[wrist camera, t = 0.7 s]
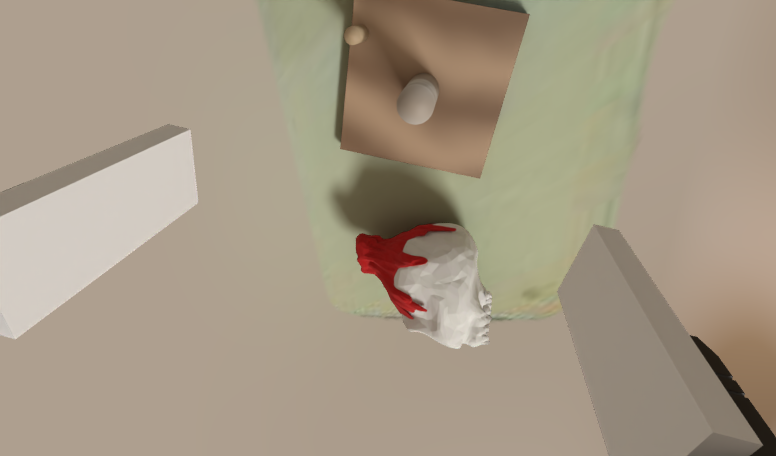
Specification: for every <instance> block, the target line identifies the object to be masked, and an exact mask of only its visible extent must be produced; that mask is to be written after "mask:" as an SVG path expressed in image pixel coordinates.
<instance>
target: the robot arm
mask: <svg viewBox="0 0 776 456" xmlns="http://www.w3.org/2000/svg"><path fill="white" fill-rule="evenodd" d="M197 203H198V197H197V187H196V177H195V168H194V159H193V150H192V141H191V132H190V129H187V128H183V127H179V126H174V125H170V124H167V125H165V126H162V127H160V128H158V129H155V130H153V131H150V132H148V133H145V134H143V135H140V136H138V137H136V138H133V139H131V140H128V141H126V142H123V143H121V144H118V145H116V146H114V147H111V148H109V149H106V150H104V151H101V152H99V153H96V154H94V155H92V156H89V157H87V158H84V159H82V160H79V161H77V162H74V163H72V164H69V165H67V166H65V167H62V168H60V169H57V170H55V171H52V172H50V173H47V174H45V175H43V176H40V177H38V178H35V179H33V180H30V181H28V182H25V183H22V184H20V185H17V186H15V187H12V188H10V189H8V190H5V191H3V192H1V193H0V335H2V336H5V337H9V338H13V339H16V338H18V337H19V336H20V335H22V334H23V333H24V332H25V331H27V330H28V329H30V328H31V327H32V326H34V325H35V324H36V323H38V322H39V321H40V320H42V319H43V318H44V317H46V316H47V315H48V314H50V313H51V312H52V311H54V310H55V309H56V308H58V307H59V306H60V305H62V304H63V303H64V302H66V301H67V300H68V299H70V298H71V297H72V296H74V295H75V294H76V293H78V292H79V291H80V290H82V289H83V288H85V287H86V286H87V285H89V284H90V283H91V282H93V281H94V280H95V279H97V278H98V277H99V276H100V275H102V274H103V273H104V272H106V271H107V270H109V269H110V268H111V267H113V266H114V265H115V264H117V263H118V262H119V261H121V260H122V259H123V258H125V257H126V256H127V255H129V254H130V253H131V252H133V251H134V250H135V249H137V248H138V247H139V246H141V245H142V244H143V243H145V242H146V241H147V240H149V239H150V238H151V237H153V236H154V235H155V234H157V233H158V232H159V231H161V230H162V229H164V228H165V227H166V226H167V225H169V224H170V223H171V222H173V221H174V220H176V219H177V218H178V217H179V216H181V215H182V214H184V213H185V212H186V211H188V210H189V209H190V208H192V207H193V206H194V205H196V204H197ZM557 292H558V296H559V299H560V302H561V305H562V308H563V311H564V315H565V318H566V321H567V324H568V327H569V331H570V334H571V336H572V340H573V343H574V346H575V350H576V352H577V356H578V359H579V362H580V365H581V369H582V372H583V375H584V378H585V381H586V385H587V388H588V391H589V394H590V397H591V400H592V403H593V407H594V410H595V413H596V416H597V419H598V423H599V426H600V429H601V432H602V435H603V439H604V442H605V445H606V448H607V451H608V454H609V456H776V437H775V435H774V434H773V433H772V431H771V430H770V428H769V427H768V426H767V424H766V423H765V421H764V420H763V419H762V417H761V416H760V414H759V413H758V412H757V410H756V409H755V407H754V406H753V405H752V403H751V402H750V400H749V399H748V398H745V397H744V395H745V393H744V392H743V390H742V389H741V388H740V386H739V385H738V383H737V382H736V381H734V380H732V377H733V376H732V375H731V374H730V372H729V371H728V369H727V368H726V367H725V365H724V364H723V362H722V361H721V360H720V358H719V357H718V356H717V355H716V354H715V353H714V352H713V351H712V350H711V349H710V348H709V347H707V346H706V345H705V344H704V343H703V342H702V341H701V340H700V339H699V338H698V337H695V336H691V335H689V334H688V332H687V331H686V330H685V328H684V326H683V325H682V323H681V322H680V320H679V319H678V317H677V316H676V315H675V313H674V312H673V310H672V308H671V307H670V306H669V304H668V303H667V301H666V300H665V298H664V297H663V295H662V294H661V292H660V291H659V289H658V288H657V286H656V285H655V283H654V282H653V280H652V279H651V277H650V276H649V274H648V273H647V271H646V270H645V268H644V267H643V265H642V264H641V262H640V261H639V259H638V258H637V256H636V255H635V253H634V252H633V250H632V249H631V247H630V246H629V245H628V243H627V241H626V240H625V239H624V237H623V235H622V234H621V232H620V231H619V230H616V229H612V228H608V227H603V226H599V225H595V224H594V225H593V227H592V228H591V230H590V232H589V234H588V236H587V238H586V239H585V241H584V243H583V245H582V247H581V249H580V251H579V252H578V254H577V256H576V258H575V260H574V262H573V263H572V265H571V267H570V269H569V271H568V273H567V274H566V276H565V278H564V280H563V282H562V284H561V285H560V287H559V289H558V291H557Z"/></svg>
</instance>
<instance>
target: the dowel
mask: <svg viewBox="0 0 776 456" xmlns="http://www.w3.org/2000/svg"><path fill="white" fill-rule="evenodd" d="M368 37H369V30H368V28H367V27H366V26H364V25H357V26H351V27H348V28H347V29H346V30H345V32H344V39H345V41H346V42H347V43H348V44H350V45H355V44H358V43H362V42H365V41H366V40H367V39H368Z"/></svg>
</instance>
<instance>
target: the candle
mask: <svg viewBox="0 0 776 456" xmlns="http://www.w3.org/2000/svg"><path fill="white" fill-rule="evenodd" d="M356 253H357V255H358V258H357V261H358V262H359V264H360V265H361V271H362V272H363V273H370V274H375V275H376V276H377V277H378V278H379V279H380V280H381V282H382V284H383V285H384V287H385V289H386V290H387V292H388V295H389V297H390V299H391V301H392V302H393V304H394V305H395V306H396V308H397V309H398V311H399V312H400V313H401V314H402V318H403V323H404V324H405V326H406V328H407V330H408V331H410V332H421V333H423V334H425V335H427V336H429V337H431V338H433V339H434V340H435V341H437V342H439V343H441V344H443V345H445V346H447V347H450V348H456V349H459V348H460V347H461V344H463V343H465V344H468V345H470V346H472V347H477V346H478V345H483V344H489V341H488V339H489V337H488V336H487V335H484V334H488V333H489V322H490V321H491V319H492V317H491V316H490V315H488V314H491V302H492V295H491V293H490V292H489V291H486V289H485V287H484V286H483V284H482V283H481V281H480V278H479V274H478V269H477V256H478V249H477V246H476V244H475V242H474V240H473V238H472V236H471V235H470V233H469V232H468V231H467V230H466V229H465V228H464V227H462V226H460V225H456V224H452V223H435V224H427V225H419V226H416V227H415V228H413V229H411V230H410V231H407V232H402V233H400V234H398V235H396V236H395V237H393V238H389V239H383V238H382V237H381V236H378V235H372V236H371V235H366V234H363V233H362V234H359V235H358V236H357V238H356Z"/></svg>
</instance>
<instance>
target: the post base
mask: <svg viewBox="0 0 776 456" xmlns="http://www.w3.org/2000/svg"><path fill="white" fill-rule="evenodd" d="M529 15H530V14H525V13H519V12H514V11H508V10H502V9H497V8H491V7H486V6H480V5H474V4H469V3H463V2H458V1H452V0H354V5H353V16H352V26H357V25H364V26H366V27H367V28H368V30H369V37H368V39H367V40H366V41H365V42H362V43H358V44H355V45H350V48H349V59H348V70H347V81H346V92H345V103H344V114H343V125H342V136H341V147H340V149H343V150H348V151H353V152H357V153H362V154H367V155H372V156H376V157H381V158H386V159H390V160H395V161H400V162H405V163H409V164H414V165H419V166H424V167H428V168H433V169H438V170H442V171H447V172H452V173H457V174H461V175H466V176H471V177H475V178H480V177H481V173H482V170H483V167H484V163H485V160H486V157H487V153H488V150H489V147H490V144H491V140H492V137H493V134H494V130H495V127H496V124H497V121H498V117H499V114H500V111H501V107H502V104H503V101H504V98H505V94H506V91H507V88H508V84H509V81H510V78H511V74H512V71H513V68H514V65H515V61H516V58H517V55H518V51H519V48H520V45H521V42H522V38H523V35H524V32H525V28H526V25H527V22H528V19H529Z"/></svg>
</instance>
